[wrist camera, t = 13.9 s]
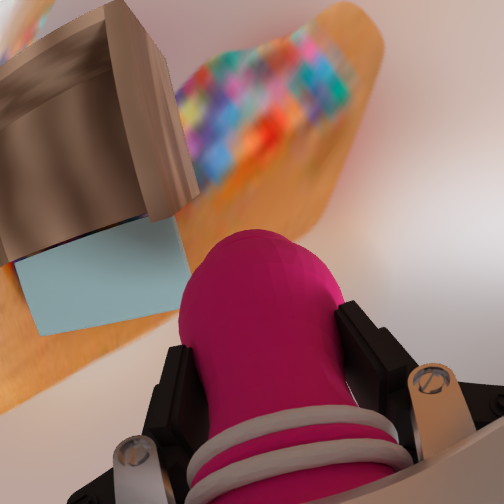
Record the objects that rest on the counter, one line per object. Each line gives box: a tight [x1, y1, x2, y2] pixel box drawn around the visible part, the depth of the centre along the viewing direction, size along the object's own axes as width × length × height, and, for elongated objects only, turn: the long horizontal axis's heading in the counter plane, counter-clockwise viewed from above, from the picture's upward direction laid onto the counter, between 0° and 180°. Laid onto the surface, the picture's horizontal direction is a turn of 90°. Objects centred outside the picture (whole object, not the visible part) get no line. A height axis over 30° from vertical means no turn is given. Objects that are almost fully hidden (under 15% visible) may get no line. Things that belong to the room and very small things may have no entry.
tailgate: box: [15, 215, 192, 336], centre depth 25 cm, size 18×2×8 cm
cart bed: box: [0, 0, 200, 267], centre depth 20 cm, size 22×14×13 cm, turn 104°
